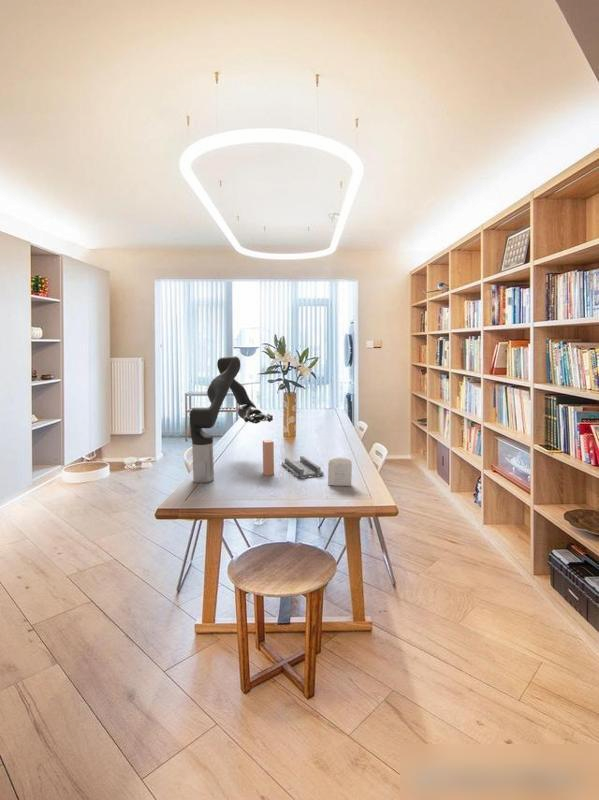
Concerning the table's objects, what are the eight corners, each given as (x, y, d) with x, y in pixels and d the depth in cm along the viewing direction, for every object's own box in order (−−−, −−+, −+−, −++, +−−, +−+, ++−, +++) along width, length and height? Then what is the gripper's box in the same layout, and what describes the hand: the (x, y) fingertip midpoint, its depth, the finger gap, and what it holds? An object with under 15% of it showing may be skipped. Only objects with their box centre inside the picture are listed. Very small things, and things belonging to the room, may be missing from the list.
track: (323, 475, 196) (323, 467, 196) (297, 478, 192) (297, 470, 191) (305, 463, 219) (305, 455, 218) (281, 465, 214) (281, 457, 214)
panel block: (265, 475, 196) (265, 442, 195) (263, 472, 201) (262, 440, 199) (273, 474, 198) (273, 441, 196) (271, 472, 202) (270, 439, 201)
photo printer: (351, 483, 184) (351, 456, 183) (351, 486, 180) (351, 458, 178) (328, 483, 185) (328, 455, 184) (327, 486, 181) (327, 458, 179)
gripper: (240, 409, 219) (247, 413, 204) (266, 407, 224) (275, 412, 209) (241, 423, 220) (247, 428, 205) (267, 421, 225) (275, 426, 210)
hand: (261, 420), depth 207 cm, fingers open, 8 cm apart
